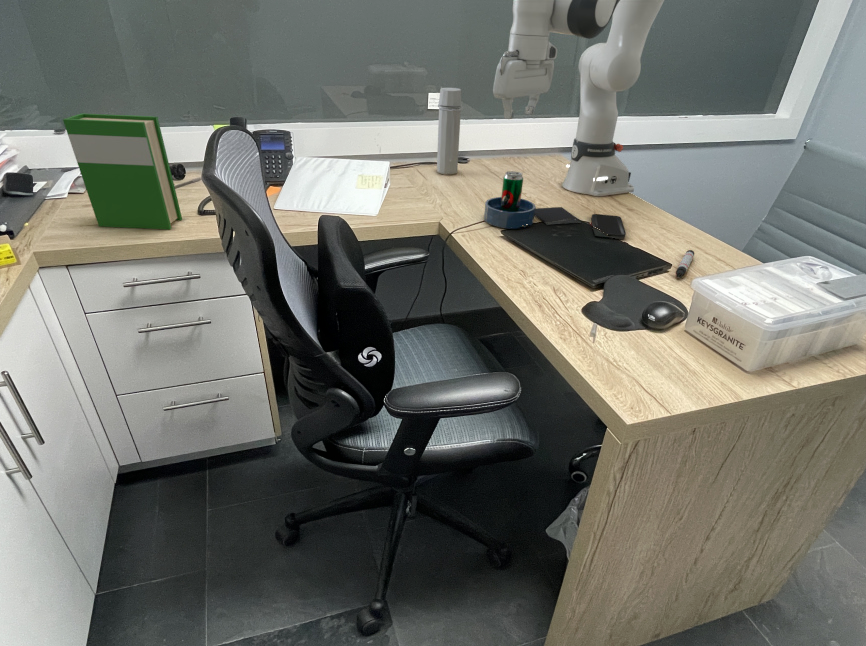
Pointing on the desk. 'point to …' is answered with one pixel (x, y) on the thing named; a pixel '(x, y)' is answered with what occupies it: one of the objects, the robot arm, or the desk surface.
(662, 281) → the desk surface
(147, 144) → the hardback book
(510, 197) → the soda can
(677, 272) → the marker
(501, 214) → the dish
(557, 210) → the black flat square pad
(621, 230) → the phone
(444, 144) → the water bottle
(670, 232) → the desk surface
